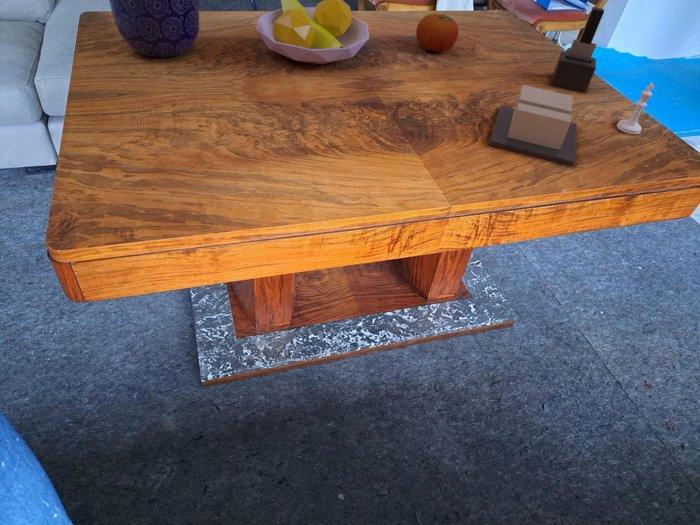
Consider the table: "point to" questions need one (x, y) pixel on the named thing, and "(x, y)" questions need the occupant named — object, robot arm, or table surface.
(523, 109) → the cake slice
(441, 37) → the fruit
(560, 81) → the knife block
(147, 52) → the planter
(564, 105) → the cake
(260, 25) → the fruit bowl
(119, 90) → the table surface
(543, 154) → the cake board
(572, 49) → the knife
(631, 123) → the chess piece
